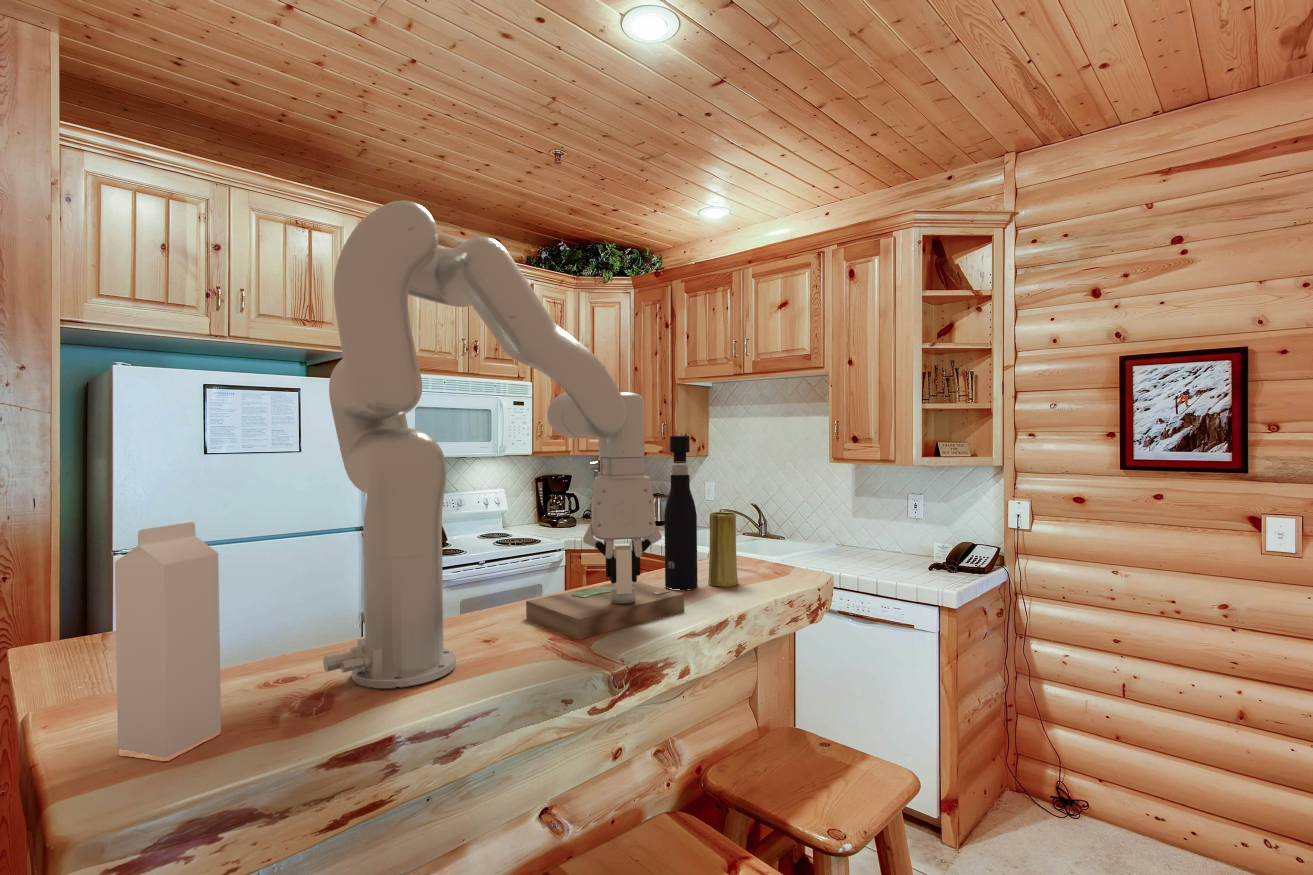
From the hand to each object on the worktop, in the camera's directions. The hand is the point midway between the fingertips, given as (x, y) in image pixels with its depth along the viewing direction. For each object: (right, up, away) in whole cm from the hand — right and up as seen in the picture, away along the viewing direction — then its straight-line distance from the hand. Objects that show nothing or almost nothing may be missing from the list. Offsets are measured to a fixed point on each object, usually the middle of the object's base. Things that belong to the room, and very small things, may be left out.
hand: (623, 579), depth 107 cm
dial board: (-3, -7, +3) cm, 8 cm away
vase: (+19, -6, +25) cm, 32 cm away
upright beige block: (0, -3, +4) cm, 5 cm away
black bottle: (+10, -7, +23) cm, 26 cm away
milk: (-43, -8, -42) cm, 60 cm away
